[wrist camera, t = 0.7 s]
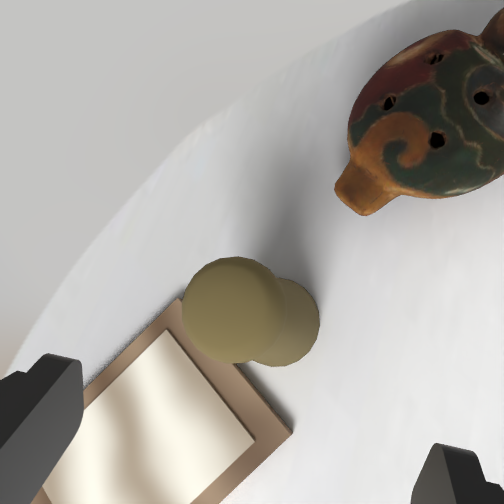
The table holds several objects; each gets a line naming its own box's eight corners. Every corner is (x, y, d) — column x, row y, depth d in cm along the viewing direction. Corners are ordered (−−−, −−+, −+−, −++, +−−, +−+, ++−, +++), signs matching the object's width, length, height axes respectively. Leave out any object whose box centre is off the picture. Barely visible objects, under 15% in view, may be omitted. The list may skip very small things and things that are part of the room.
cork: (290, 261, 31) (246, 216, 21) (337, 337, 29) (314, 329, 19) (218, 306, 32) (142, 285, 22) (260, 383, 30) (197, 400, 20)
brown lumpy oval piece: (583, 101, 28) (655, 24, 21) (409, 271, 30) (417, 257, 23) (460, 19, 31) (485, -76, 24) (307, 178, 33) (284, 138, 25)
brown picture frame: (182, 299, 33) (176, 297, 32) (293, 433, 29) (290, 435, 28) (13, 465, 34) (2, 468, 33) (98, 618, 30) (89, 626, 29)
